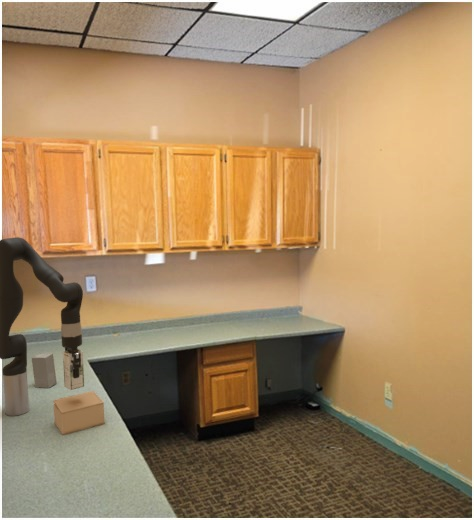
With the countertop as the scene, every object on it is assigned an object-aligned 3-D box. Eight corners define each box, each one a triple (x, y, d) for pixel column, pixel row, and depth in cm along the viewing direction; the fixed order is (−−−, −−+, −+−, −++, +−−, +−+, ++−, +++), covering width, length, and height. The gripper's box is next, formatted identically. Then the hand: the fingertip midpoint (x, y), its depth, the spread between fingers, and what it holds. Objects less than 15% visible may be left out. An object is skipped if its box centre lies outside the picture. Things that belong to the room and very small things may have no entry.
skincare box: (57, 384, 231) (55, 353, 230) (47, 389, 224) (45, 357, 223) (42, 383, 233) (40, 352, 232) (33, 387, 226) (30, 356, 225)
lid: (53, 401, 183) (53, 400, 183) (93, 392, 193) (93, 390, 192) (61, 414, 173) (61, 412, 173) (103, 403, 182) (103, 402, 182)
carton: (54, 423, 184) (53, 403, 184) (94, 413, 193) (93, 394, 193) (63, 435, 173) (61, 414, 173) (104, 423, 183) (103, 404, 182)
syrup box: (78, 383, 186) (76, 348, 185) (84, 386, 182) (83, 350, 180) (64, 387, 182) (62, 351, 181) (70, 390, 178) (68, 353, 176)
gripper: (57, 332, 184) (59, 373, 185) (66, 338, 172) (69, 382, 173) (76, 329, 188) (78, 369, 189) (86, 335, 176) (89, 378, 177)
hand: (73, 375), depth 181 cm, fingers closed on syrup box, 6 cm apart
